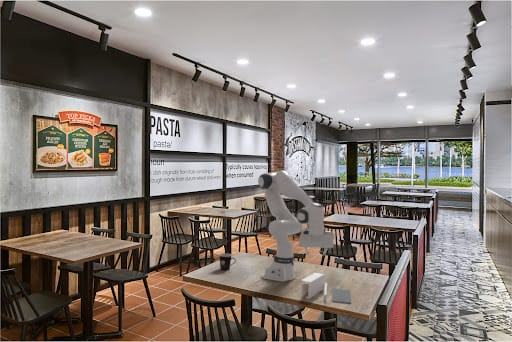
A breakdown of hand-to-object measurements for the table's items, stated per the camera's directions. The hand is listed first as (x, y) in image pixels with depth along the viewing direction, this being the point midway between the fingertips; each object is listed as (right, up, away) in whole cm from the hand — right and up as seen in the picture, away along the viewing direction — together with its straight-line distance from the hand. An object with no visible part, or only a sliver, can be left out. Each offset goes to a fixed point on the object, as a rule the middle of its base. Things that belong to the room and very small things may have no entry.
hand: (316, 254), depth 205 cm
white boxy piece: (-2, -23, 0) cm, 23 cm away
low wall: (+5, -23, -2) cm, 23 cm away
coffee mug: (-56, -21, +42) cm, 73 cm away
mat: (+14, -23, -4) cm, 27 cm away
